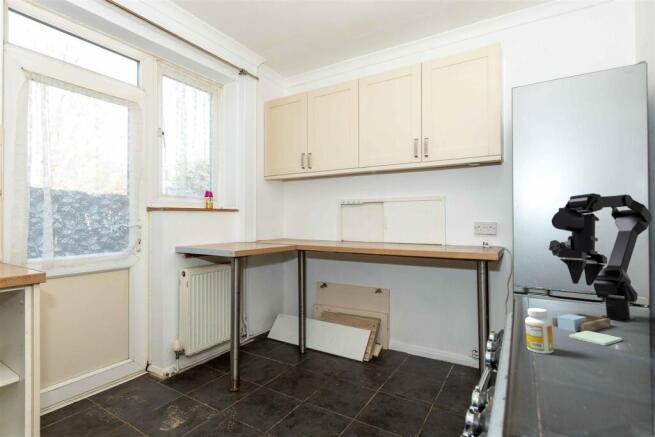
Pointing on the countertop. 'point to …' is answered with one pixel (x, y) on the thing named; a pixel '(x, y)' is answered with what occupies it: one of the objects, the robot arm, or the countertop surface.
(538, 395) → the countertop surface
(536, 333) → the supplement bottle
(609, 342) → the mat
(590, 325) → the u-shaped frame
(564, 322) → the block
